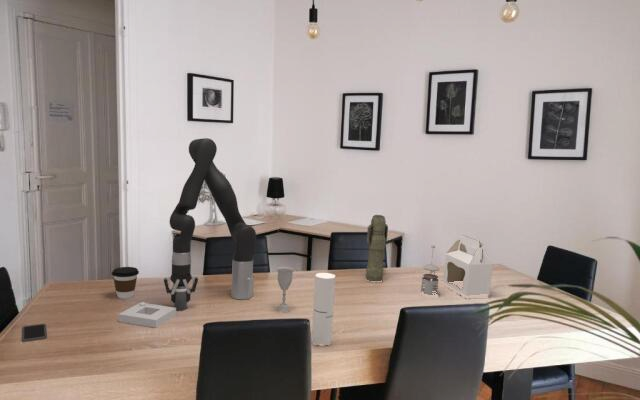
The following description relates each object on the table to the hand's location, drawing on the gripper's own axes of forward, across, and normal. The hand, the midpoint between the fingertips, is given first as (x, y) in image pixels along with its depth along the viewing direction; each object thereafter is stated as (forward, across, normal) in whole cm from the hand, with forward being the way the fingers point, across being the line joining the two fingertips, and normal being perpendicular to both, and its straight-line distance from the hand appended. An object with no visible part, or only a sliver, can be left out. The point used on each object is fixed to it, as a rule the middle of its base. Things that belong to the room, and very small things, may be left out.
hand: (180, 301), depth 199 cm
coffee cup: (+3, +22, -19) cm, 29 cm away
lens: (+3, 0, 0) cm, 3 cm away
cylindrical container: (+3, -48, +43) cm, 64 cm away
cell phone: (+4, +50, +16) cm, 52 cm away
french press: (+3, -118, 0) cm, 118 cm away
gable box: (+3, -140, -2) cm, 140 cm away
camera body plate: (+3, +12, +9) cm, 16 cm away
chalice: (+3, -42, +8) cm, 43 cm away
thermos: (+3, -100, -26) cm, 103 cm away
